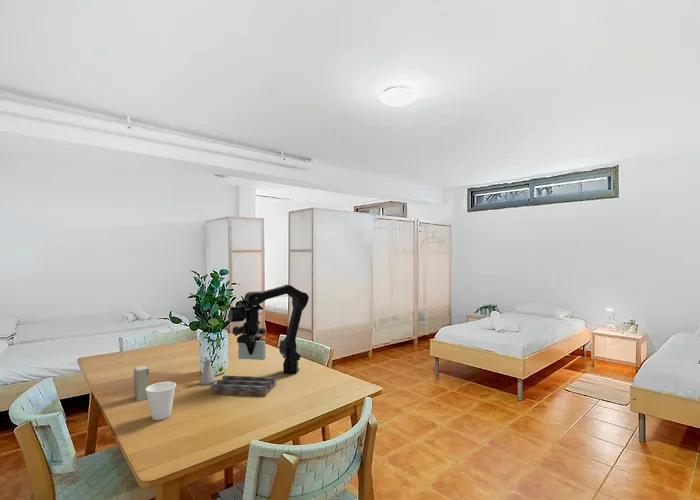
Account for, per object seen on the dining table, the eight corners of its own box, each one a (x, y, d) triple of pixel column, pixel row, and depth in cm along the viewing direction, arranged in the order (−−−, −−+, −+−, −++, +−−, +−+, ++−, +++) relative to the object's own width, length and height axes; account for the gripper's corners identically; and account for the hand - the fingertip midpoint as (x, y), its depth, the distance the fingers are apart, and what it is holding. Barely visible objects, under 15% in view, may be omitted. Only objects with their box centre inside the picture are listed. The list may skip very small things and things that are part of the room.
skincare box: (150, 398, 148) (150, 368, 148) (138, 401, 145) (138, 370, 145) (145, 393, 153) (145, 364, 153) (133, 397, 150) (133, 367, 150)
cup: (157, 410, 137) (156, 381, 137) (182, 411, 136) (181, 381, 136) (139, 422, 127) (138, 391, 127) (166, 423, 126) (165, 392, 126)
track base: (275, 385, 162) (275, 377, 162) (265, 395, 150) (265, 387, 150) (224, 383, 165) (224, 375, 165) (210, 393, 153) (210, 385, 153)
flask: (210, 385, 161) (209, 363, 161) (195, 384, 163) (195, 362, 163) (219, 380, 168) (218, 358, 168) (204, 379, 170) (204, 357, 170)
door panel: (265, 358, 167) (265, 340, 167) (263, 359, 165) (263, 342, 165) (240, 357, 169) (240, 339, 169) (238, 358, 167) (238, 341, 167)
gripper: (244, 315, 178) (244, 347, 178) (225, 323, 159) (225, 359, 159) (266, 316, 176) (266, 348, 176) (249, 324, 157) (249, 360, 157)
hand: (252, 354), depth 167 cm, fingers closed on door panel, 2 cm apart
